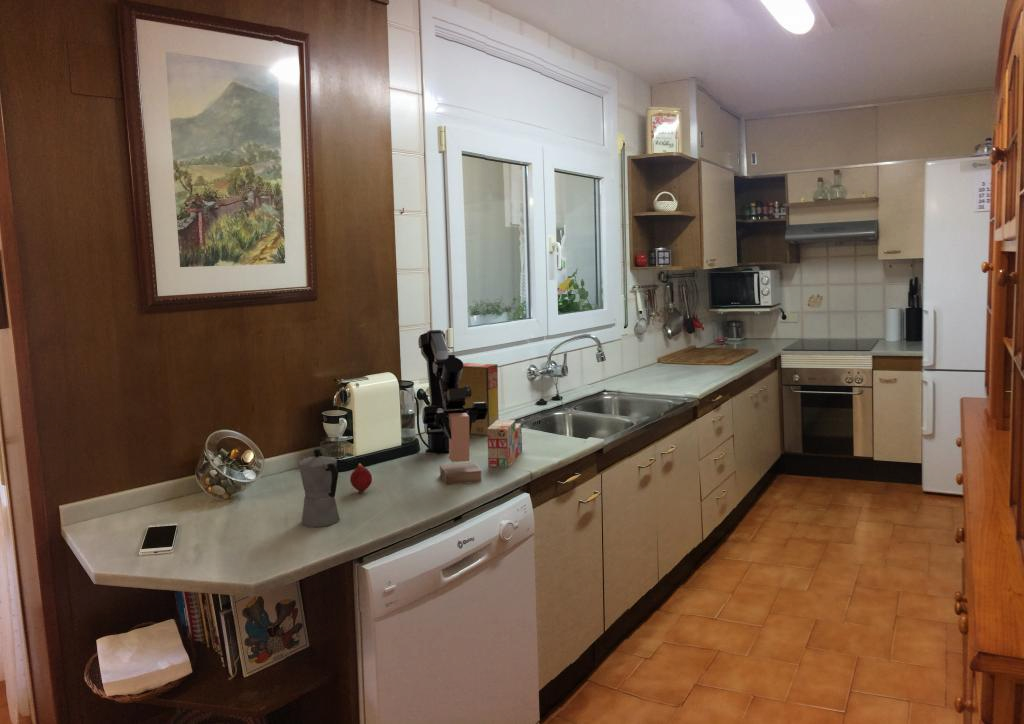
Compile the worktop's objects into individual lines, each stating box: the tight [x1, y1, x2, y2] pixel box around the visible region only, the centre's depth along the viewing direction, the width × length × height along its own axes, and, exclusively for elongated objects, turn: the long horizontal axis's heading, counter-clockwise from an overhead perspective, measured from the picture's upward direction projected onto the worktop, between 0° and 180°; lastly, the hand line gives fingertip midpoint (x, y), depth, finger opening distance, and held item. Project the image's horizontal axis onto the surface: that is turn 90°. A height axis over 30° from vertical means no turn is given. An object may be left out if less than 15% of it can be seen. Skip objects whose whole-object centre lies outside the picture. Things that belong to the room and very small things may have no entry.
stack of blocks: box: [487, 419, 523, 468], centre depth 238 cm, size 21×6×12 cm, turn 167°
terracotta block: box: [448, 413, 470, 463], centre depth 216 cm, size 5×5×13 cm
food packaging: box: [459, 362, 500, 437], centre depth 276 cm, size 13×9×25 cm
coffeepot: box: [297, 448, 341, 528], centre depth 182 cm, size 15×9×18 cm, turn 43°
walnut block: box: [439, 461, 482, 486], centre depth 218 cm, size 10×10×4 cm
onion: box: [349, 463, 373, 493], centre depth 206 cm, size 6×6×8 cm
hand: (459, 437), depth 215 cm, fingers closed on terracotta block, 5 cm apart
